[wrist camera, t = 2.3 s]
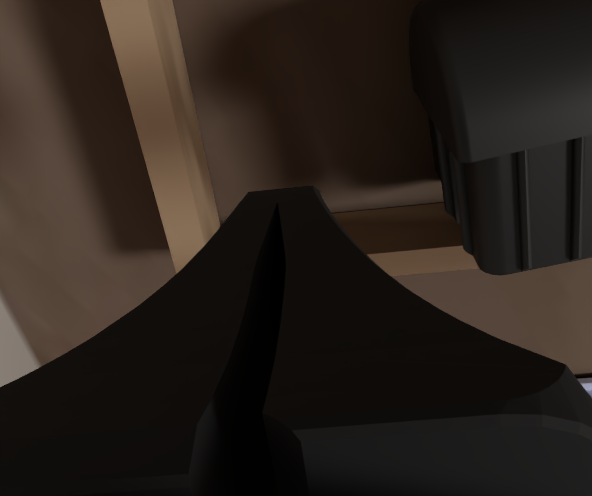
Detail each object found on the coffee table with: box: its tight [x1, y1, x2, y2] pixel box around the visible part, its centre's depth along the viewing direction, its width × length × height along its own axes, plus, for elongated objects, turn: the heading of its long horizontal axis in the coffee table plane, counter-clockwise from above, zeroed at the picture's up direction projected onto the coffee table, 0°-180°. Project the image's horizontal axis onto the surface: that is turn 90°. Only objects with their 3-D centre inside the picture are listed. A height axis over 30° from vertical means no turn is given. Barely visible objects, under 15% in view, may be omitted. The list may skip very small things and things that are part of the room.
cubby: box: [100, 0, 592, 276], centre depth 17 cm, size 12×20×3 cm, turn 96°
